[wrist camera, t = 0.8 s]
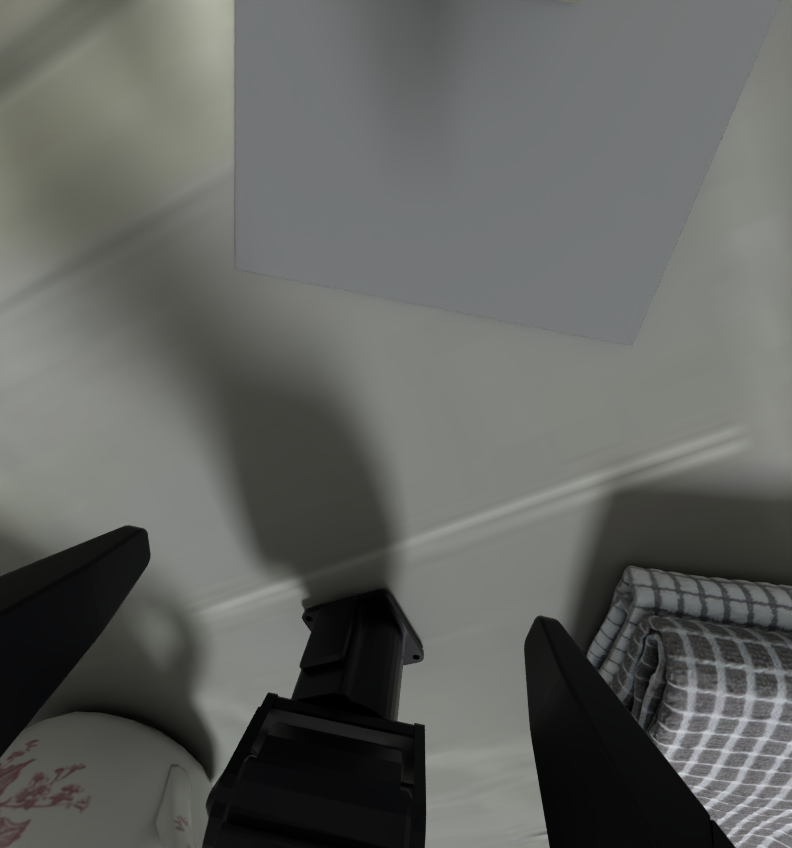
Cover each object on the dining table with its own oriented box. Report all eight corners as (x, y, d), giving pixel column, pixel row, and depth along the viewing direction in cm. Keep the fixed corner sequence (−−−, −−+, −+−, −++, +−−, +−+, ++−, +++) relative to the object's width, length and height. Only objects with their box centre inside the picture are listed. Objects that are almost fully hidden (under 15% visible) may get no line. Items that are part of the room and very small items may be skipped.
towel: (901, 576, 20) (1156, 747, 13) (764, 767, 27) (879, 946, 20) (607, 549, 22) (689, 690, 14) (549, 737, 29) (585, 894, 22)
